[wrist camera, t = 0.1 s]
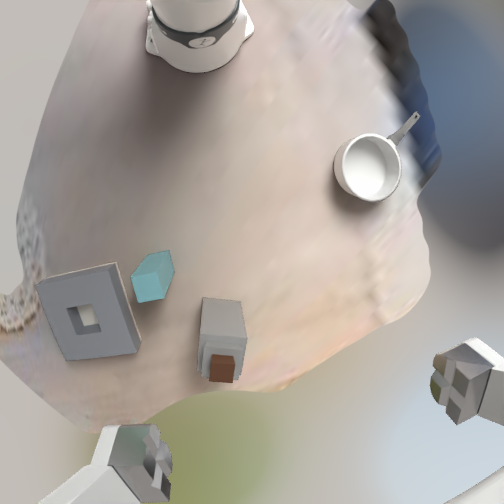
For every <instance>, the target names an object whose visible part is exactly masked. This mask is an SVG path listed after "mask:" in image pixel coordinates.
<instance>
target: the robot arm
mask: <svg viewBox="0 0 504 504" xmlns="http://www.w3.org/2000/svg"><path fill="white" fill-rule="evenodd" d="M147 10H148V11H150V12H149V16H148V28H147V37H146V50H147V52H149V53H150V54H153V55H156V56H160V57H162V58H163V59H165V60H166V61H167V62H168V63H169V64H170V65H172V66H173V67H175V68H177V69H179V70H182V71H186V72H193V73H200V72H207V71H211V70H214V69H217V68H219V67H221V66H223V65H224V64H226V63H227V62H229V61H230V60H231V59H232V58H233V57H234V55H235V54H236V53H237V51H238V49H239V47H240V45H241V44H242V42H243V41H244V40H246V39H247V38H248V37H250V36H251V35H252V34H253V32H254V26H253V24H252V21H251V19H250V17H249V15H248V13H247V11H246V9H245V7H244V5H243V3H242V2H241V0H147ZM246 24H247V25H246ZM151 41H153V42H151ZM433 367H434V368H435V369H436V370H435V372H434V373H433V375H432V376H431V381H430V388H431V393H432V395H433V397H434V399H435V400H436V402H437V403H438V404H440V405H444V406H446V413H447V415H448V416H449V417H450V418H451V419H452V420H453V422H454V423H455V424H456V425H458V424H460V423H462V422H464V421H466V420H468V419H470V418H471V417H473V416H475V415H477V414H478V416H480V417H483V418H485V419H488V420H490V421H493V422H495V423H498V424H500V425H503V426H504V358H503V357H502V356H500V355H499V354H498V353H496V352H495V351H494V350H493V349H491V348H490V347H489V346H487V345H486V344H485V343H483V342H482V341H481V340H479V339H478V338H475V337H472V338H470V339H468V340H466V341H464V342H462V343H461V344H458V345H456V346H454V347H452V348H450V349H447V350H445V351H443V352H441V353H438V354H436V356H435V357H434V360H433ZM160 433H161V432H160V431H159V429H158V427H157V425H155V424H133V425H106V426H105V427H104V428H103V429H102V432H101V435H100V437H99V440H98V443H97V446H96V449H95V452H94V455H93V458H92V460H91V464H90V465H85V466H84V467H83V468H81V469H80V470H79V471H78V472H77V473H75V474H74V475H73V476H72V477H70V478H69V479H68V480H67V481H65V482H64V483H63V484H62V485H61V486H59V487H58V488H57V489H55V490H54V491H53V492H52V493H50V494H49V495H48V496H46V497H45V498H44V499H43V500H42V501H40V502H39V503H37V504H141V503H145V502H169V500H170V489H171V483H170V482H169V480H168V479H167V477H168V476H169V475H170V473H172V456H171V453H170V450H169V447H168V445H167V443H166V442H164V441H162V440H161V439H160ZM444 504H504V466H503V467H501V468H500V469H499V470H497V471H496V472H494V473H493V474H491V475H490V476H489V477H487V478H486V479H484V480H483V481H481V482H479V483H478V484H476V485H475V486H473V487H472V488H470V489H468V490H467V491H465V492H463V493H462V494H460V495H458V496H457V497H455V498H453V499H451V500H449V501H447V502H446V503H444Z"/></svg>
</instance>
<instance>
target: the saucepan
mask: <svg viewBox="0 0 504 504" xmlns="http://www.w3.org/2000/svg"><path fill="white" fill-rule="evenodd" d="M414 117H415V119H414ZM419 117H420V115H419V114H418V113H417V112H415V113H414V114H413V115H412V116H411V117H410V118H409V119H408V121H407V122H406V123H405V124H404V125H403V126H402V127H401V128H400V129H399V130H398V131H397V132H395V133H394V134H392V135H390V136H389V137H388V138H387V139H386V138H384V137H383V136H380V135H378V134H372V133H371V134H363V135H360V136H358V137H356V138H354V139H350V140H348V141H347V142H345V143H344V144H343V145H342V146H341V147H340V148H339V150H338V151H337V154H336V156H335V160H334V172H335V176H336V179H337V181H338V183H339V185H340V186H341V187H342V188H343V189H344V190H345V191H346V192H347V193H349V194H351V195H353V196H356V197H358V198H360V199H361V200H364V201H367V202H378V201H382V200H384V199H386V198H388V197H389V196H390V195H391V194H392V193H393V192H394V191H395V190H396V188H397V187H398V184H399V182H400V178H401V172H402V166H401V160H400V156H399V154H398V152H397V150H396V148H395V147H396V146H397V145H398V143H399V141H400V140H401V139H402V138H403V136H404V135H405V134H406V133H407V132H408V130H409V129H410V128H411V127H412V126H413V124H414V123H415V122H416V121H417V120H418V119H419Z"/></svg>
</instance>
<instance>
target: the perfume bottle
mask: <svg viewBox="0 0 504 504" xmlns="http://www.w3.org/2000/svg"><path fill="white" fill-rule="evenodd" d="M246 343H247V334H246V328H245V323H244V318H243V312H242V307H241V301H232V300H223V299H214V298H205V297H203V306H202V315H201V326H200V337H199V349H198V362H197V371H198V372H202V373H201V377H206V378H209V381H213V382H225V383H233V380H238V378H239V375H241V372H242V366H243V360H244V355H245V349H246Z"/></svg>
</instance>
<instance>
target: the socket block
mask: <svg viewBox="0 0 504 504" xmlns="http://www.w3.org/2000/svg"><path fill="white" fill-rule="evenodd" d="M36 289H37V292H38V295H39V298H40V301H41V303H42V306H43V309H44V311H45V314H46V316H47V319H48V321H49V324H50V326H51V329H52V331H53V333H54V336H55V338H56V340H57V343H58V345H59V347H60V349H61V352H62V354H63V356H64V358H65V360H66V361H72V360H82V359H91V358H100V357H109V356H117V355H125V354H132V353H137V351H138V349H139V346H140V343H141V341H142V338H141V335H140V332H139V330H138V327H137V324H136V321H135V318H134V315H133V312H132V309H131V306H130V303H129V300H128V297H127V294H126V291H125V288H124V284H123V281H122V278H121V275H120V271H119V268H118V264H117V262H112V263H108V264H103V265H99V266H94V267H90V268H85V269H81V270H76V271H72V272H68V273H63V274H59V275H54V276H50V277H47V278H45V279H44V280H43V281H41V282H40V283H39V284H37V285H36Z"/></svg>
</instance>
